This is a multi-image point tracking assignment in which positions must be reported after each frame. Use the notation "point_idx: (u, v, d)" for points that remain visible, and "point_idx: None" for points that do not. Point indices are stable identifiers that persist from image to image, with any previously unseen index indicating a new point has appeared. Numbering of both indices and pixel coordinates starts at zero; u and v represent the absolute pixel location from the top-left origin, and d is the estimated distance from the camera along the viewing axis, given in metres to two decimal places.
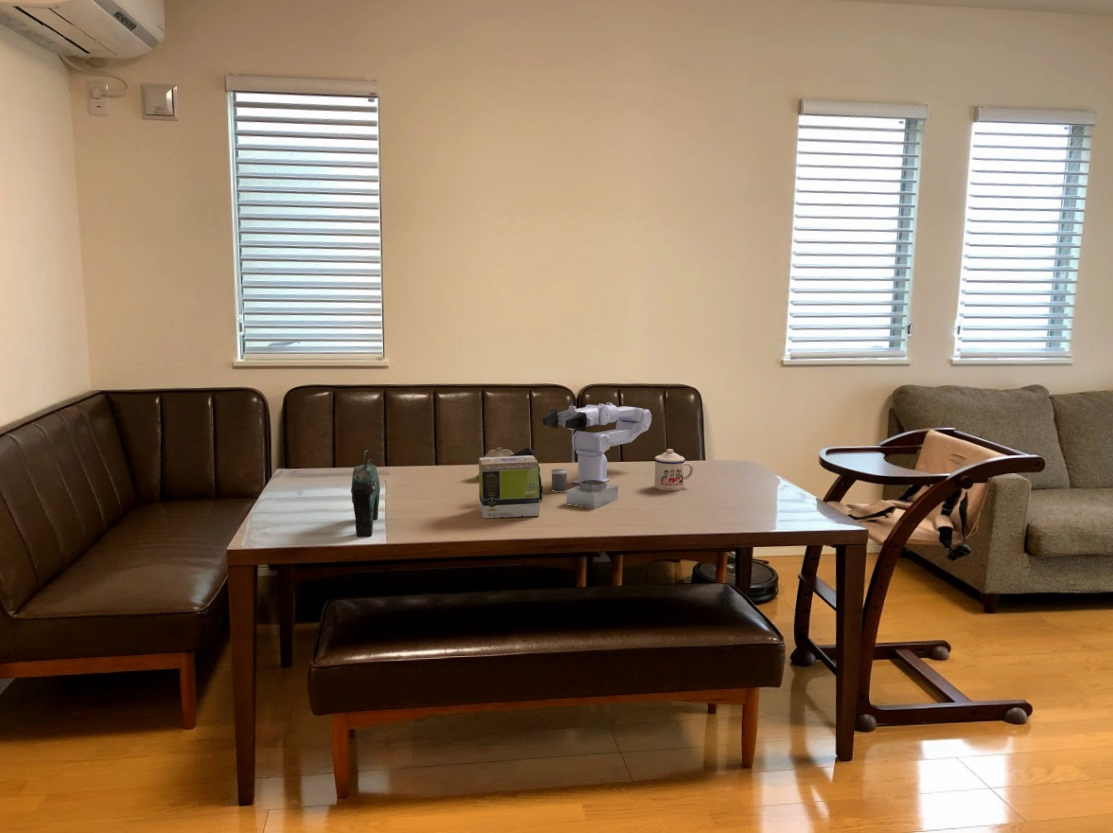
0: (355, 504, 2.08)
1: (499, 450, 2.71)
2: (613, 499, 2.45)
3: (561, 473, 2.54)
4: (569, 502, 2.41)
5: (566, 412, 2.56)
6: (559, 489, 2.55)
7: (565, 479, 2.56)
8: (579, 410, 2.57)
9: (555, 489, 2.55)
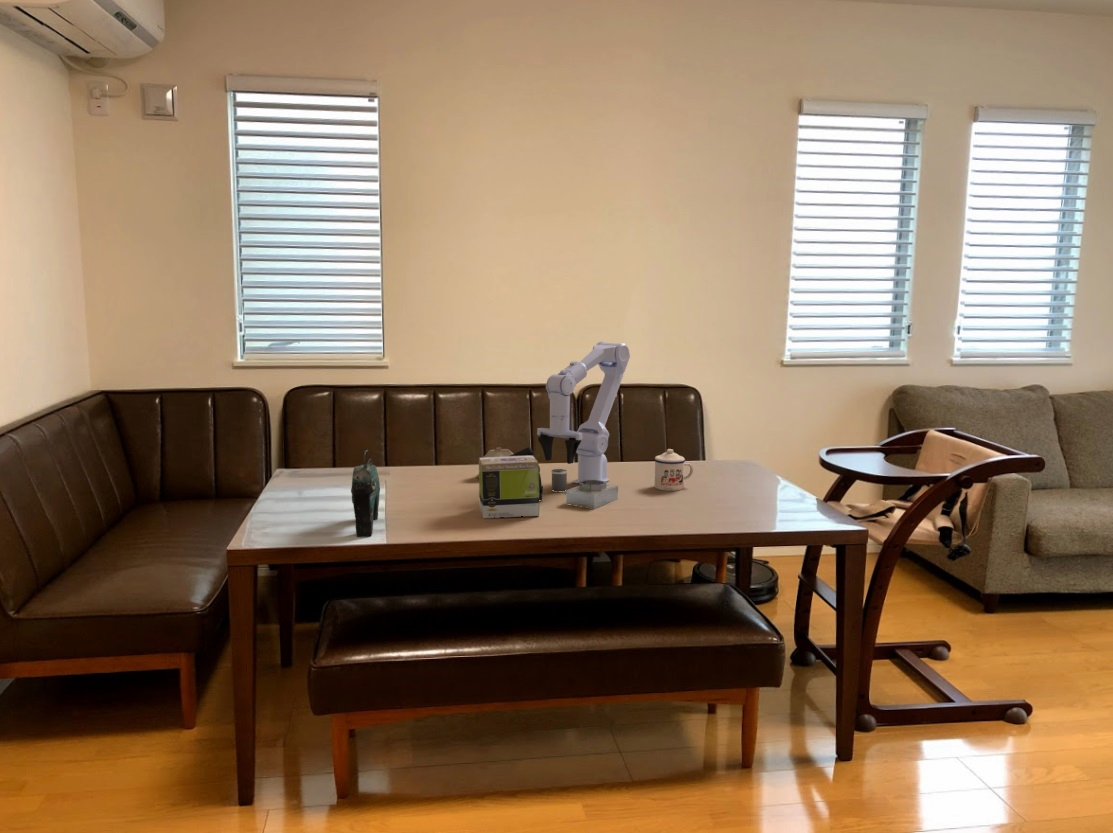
0: (355, 504, 2.08)
1: (499, 450, 2.71)
2: (613, 499, 2.45)
3: (561, 473, 2.54)
4: (569, 502, 2.41)
5: None
6: (559, 489, 2.55)
7: (565, 479, 2.56)
8: (558, 425, 2.52)
9: (555, 489, 2.55)
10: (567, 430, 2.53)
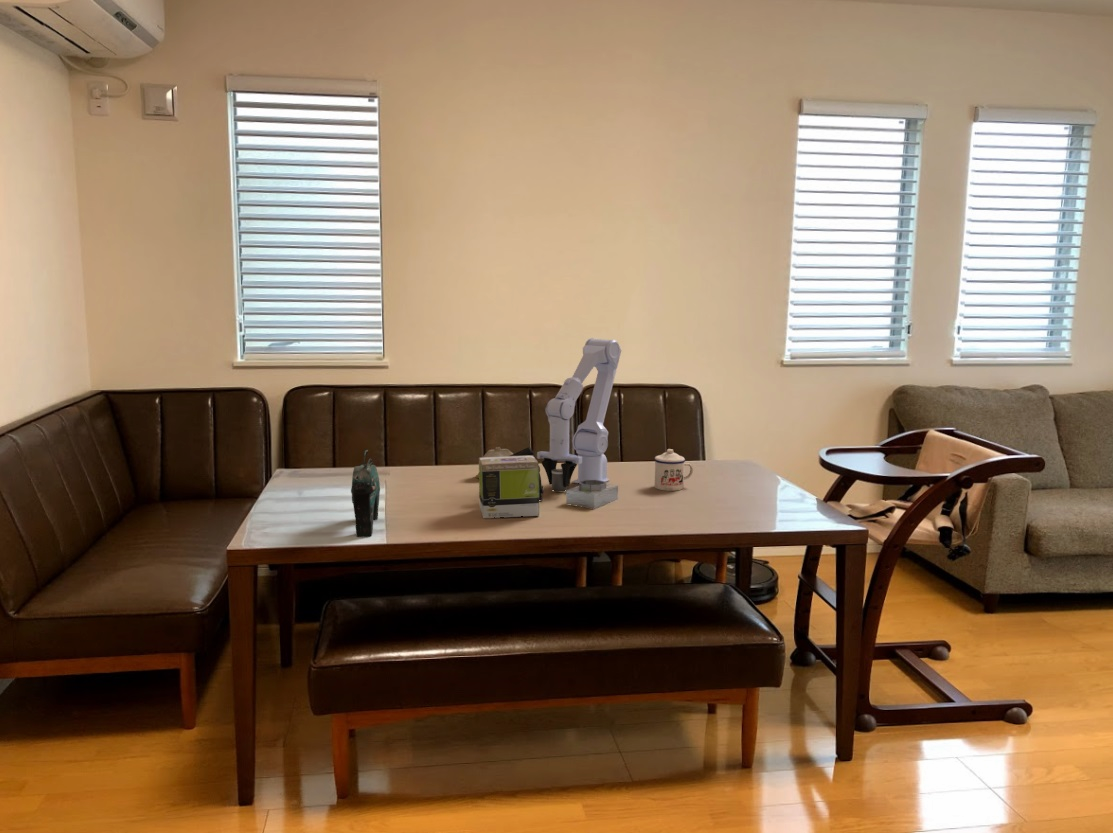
0: (355, 504, 2.08)
1: (498, 450, 2.71)
2: (613, 499, 2.45)
3: (561, 473, 2.54)
4: (569, 502, 2.41)
5: None
6: (559, 489, 2.55)
7: None
8: (557, 449, 2.53)
9: (555, 489, 2.55)
10: (567, 454, 2.54)
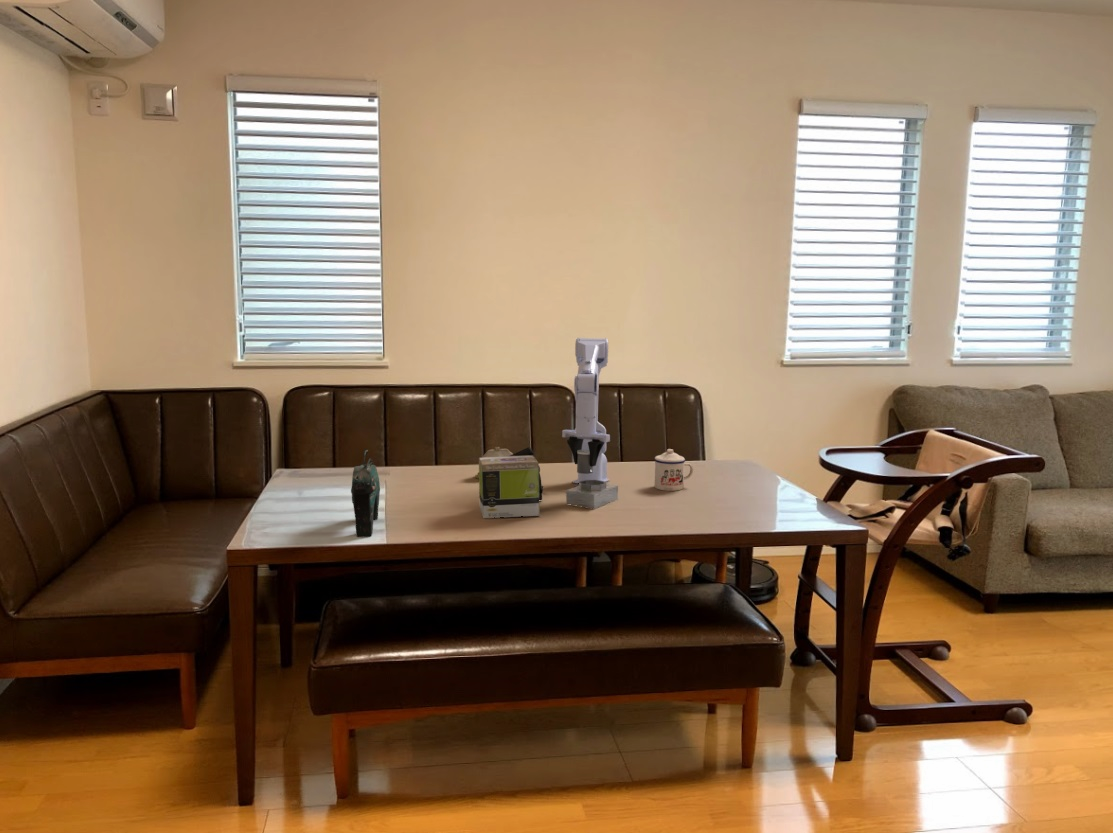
0: (355, 504, 2.08)
1: (498, 449, 2.72)
2: (613, 499, 2.45)
3: (588, 453, 2.43)
4: (569, 502, 2.41)
5: None
6: (586, 470, 2.43)
7: None
8: (584, 427, 2.41)
9: (581, 470, 2.43)
10: (594, 432, 2.42)
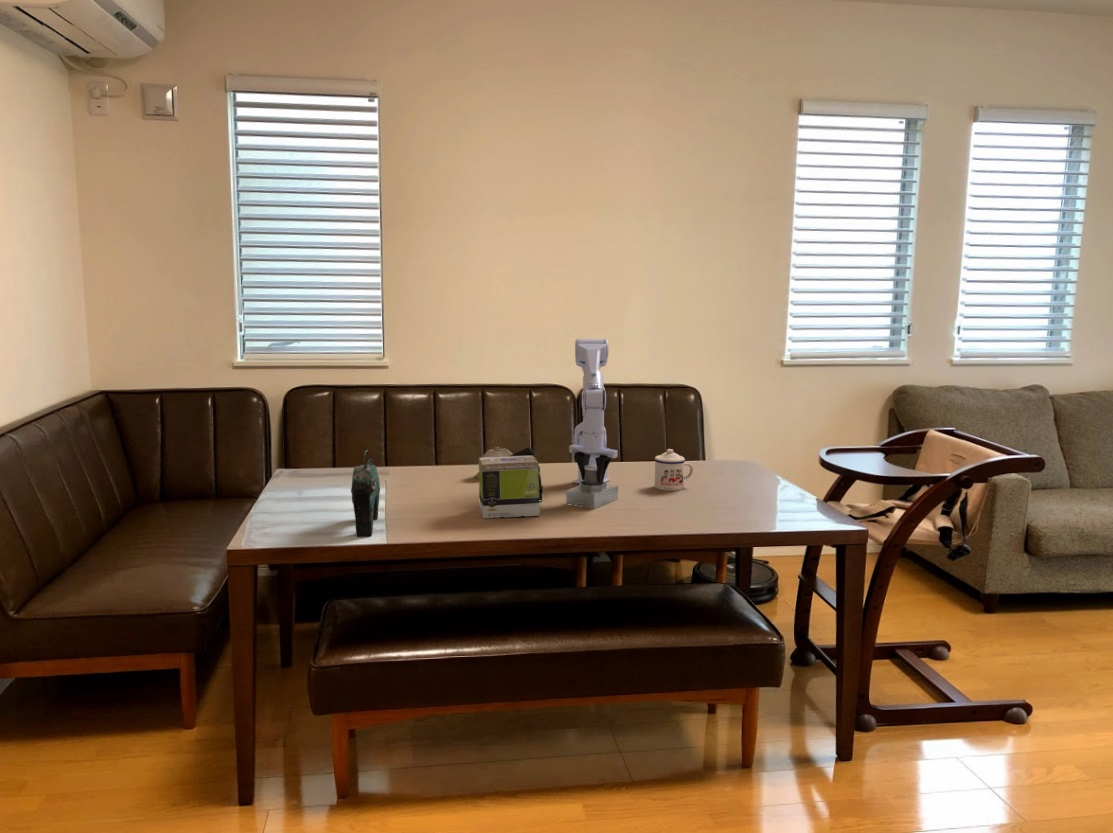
0: (355, 504, 2.08)
1: (497, 449, 2.72)
2: (613, 499, 2.45)
3: (596, 469, 2.41)
4: (569, 502, 2.41)
5: None
6: None
7: None
8: (591, 443, 2.39)
9: None
10: (601, 447, 2.40)
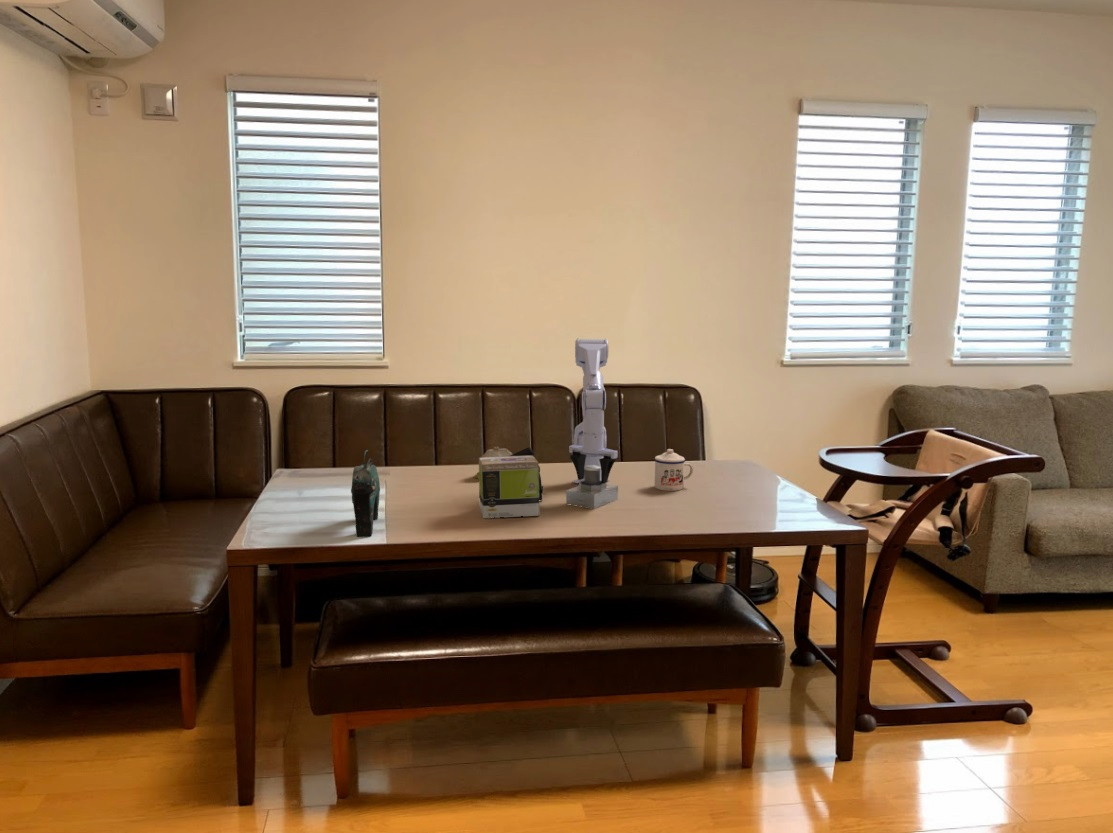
0: (355, 504, 2.08)
1: (497, 449, 2.72)
2: (613, 499, 2.45)
3: (595, 469, 2.41)
4: (569, 502, 2.41)
5: None
6: None
7: (599, 476, 2.42)
8: (591, 443, 2.39)
9: None
10: (601, 448, 2.40)
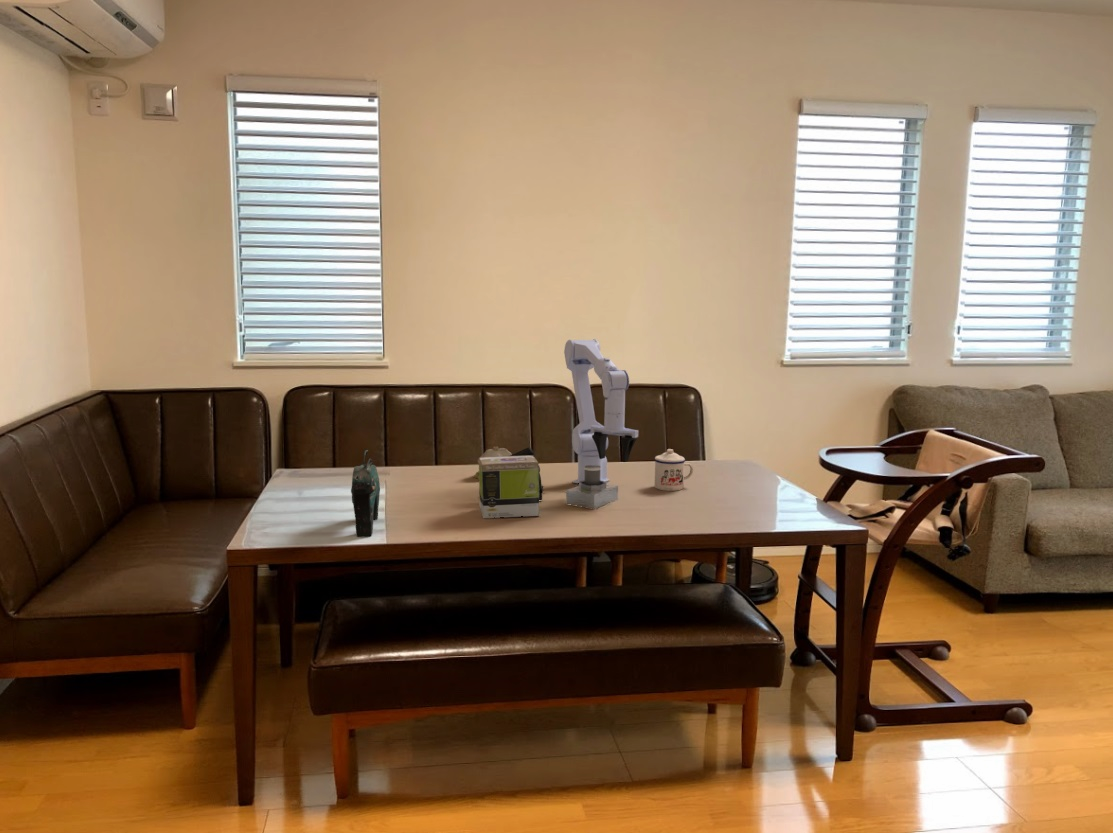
0: (355, 504, 2.08)
1: (496, 449, 2.72)
2: (613, 499, 2.45)
3: (595, 469, 2.41)
4: (569, 502, 2.41)
5: None
6: None
7: (599, 476, 2.42)
8: (613, 423, 2.46)
9: None
10: (622, 428, 2.47)
